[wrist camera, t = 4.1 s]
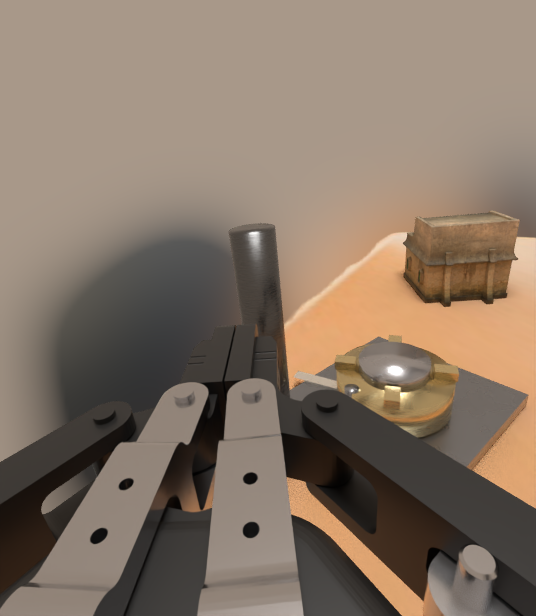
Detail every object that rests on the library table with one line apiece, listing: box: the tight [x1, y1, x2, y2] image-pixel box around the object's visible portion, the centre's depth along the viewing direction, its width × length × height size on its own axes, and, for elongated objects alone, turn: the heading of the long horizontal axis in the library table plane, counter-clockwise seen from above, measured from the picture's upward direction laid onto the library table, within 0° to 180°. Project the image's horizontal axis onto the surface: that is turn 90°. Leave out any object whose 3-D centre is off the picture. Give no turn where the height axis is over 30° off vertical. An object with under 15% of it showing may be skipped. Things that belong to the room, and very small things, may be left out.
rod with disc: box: [229, 224, 459, 438], centre depth 29 cm, size 18×10×18 cm, turn 116°
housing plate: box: [290, 337, 528, 470], centre depth 35 cm, size 19×18×1 cm
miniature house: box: [403, 211, 519, 307], centre depth 57 cm, size 15×14×11 cm
